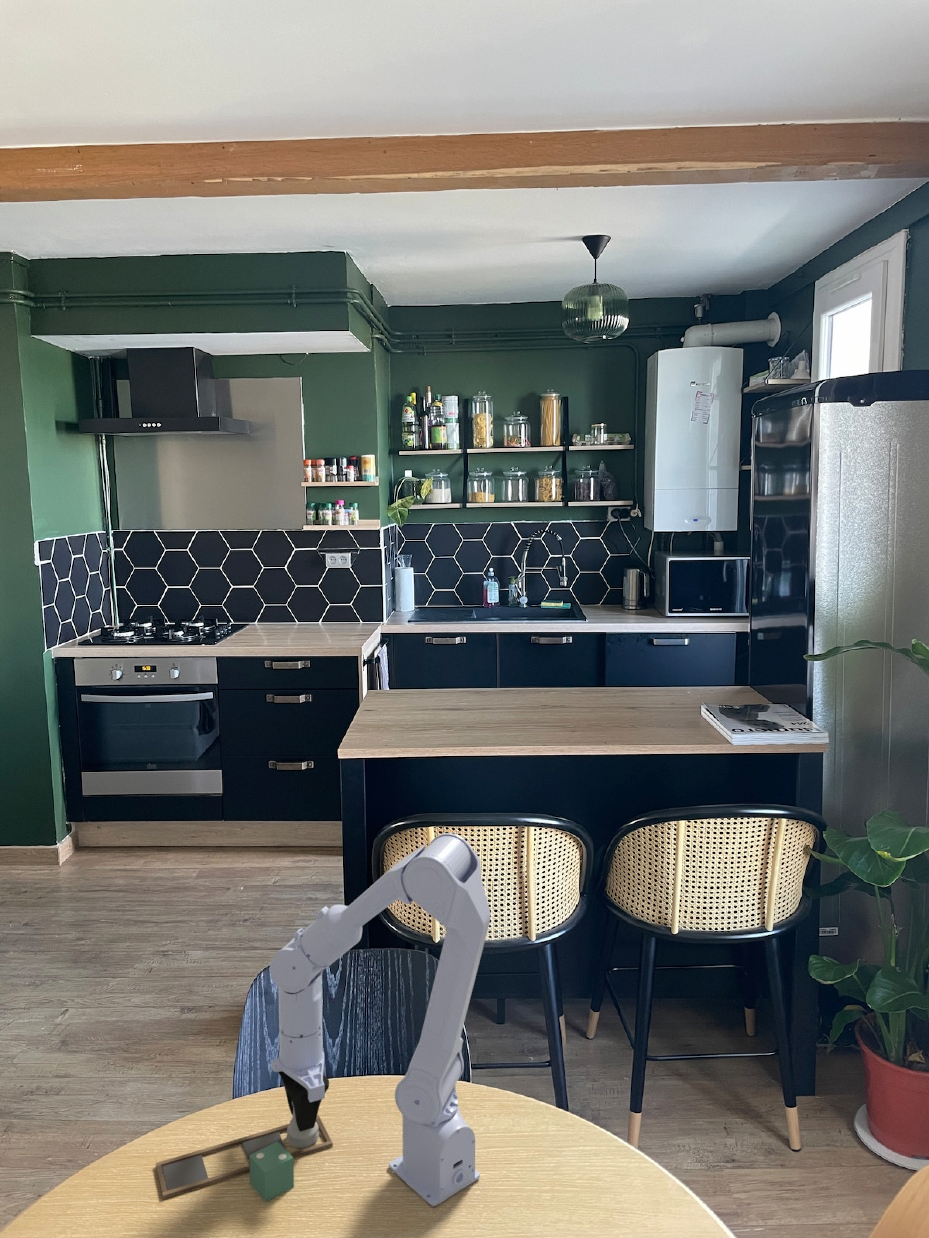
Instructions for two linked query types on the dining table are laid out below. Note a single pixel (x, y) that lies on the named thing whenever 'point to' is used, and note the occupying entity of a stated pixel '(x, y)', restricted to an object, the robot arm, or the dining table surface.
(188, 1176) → the track board
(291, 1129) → the rook chess piece
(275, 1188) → the green die
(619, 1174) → the dining table surface
